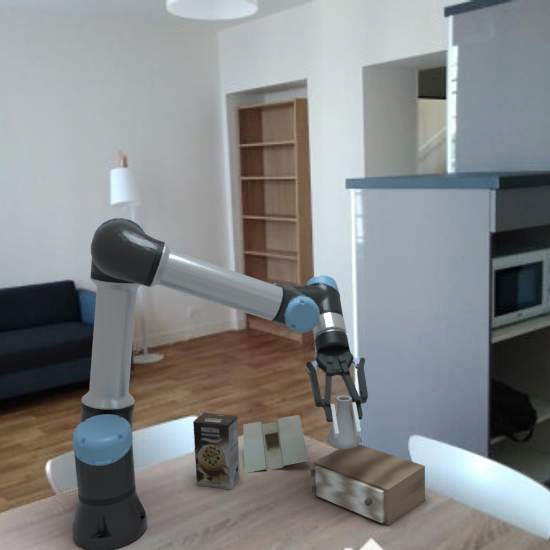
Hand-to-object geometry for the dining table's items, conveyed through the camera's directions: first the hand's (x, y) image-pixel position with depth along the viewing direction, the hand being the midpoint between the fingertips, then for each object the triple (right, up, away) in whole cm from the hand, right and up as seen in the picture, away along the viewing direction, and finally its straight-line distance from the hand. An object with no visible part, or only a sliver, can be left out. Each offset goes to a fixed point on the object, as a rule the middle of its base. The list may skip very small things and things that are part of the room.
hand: (347, 434), depth 135 cm
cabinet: (+6, -17, +11) cm, 21 cm away
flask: (0, -3, +4) cm, 5 cm away
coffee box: (-29, -17, +21) cm, 39 cm away
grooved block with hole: (-15, -15, +32) cm, 38 cm away
